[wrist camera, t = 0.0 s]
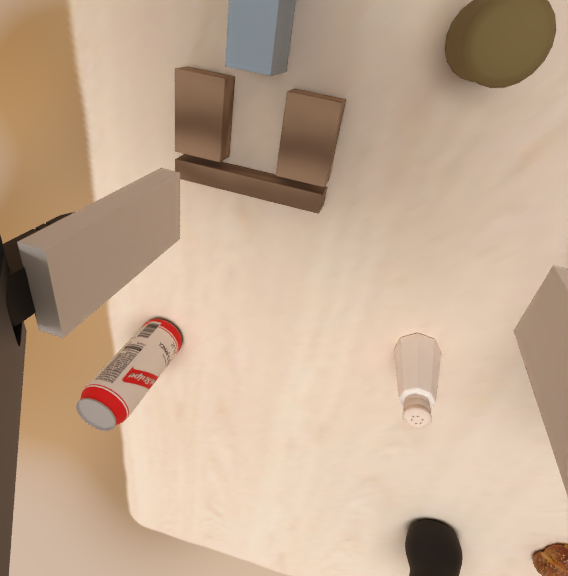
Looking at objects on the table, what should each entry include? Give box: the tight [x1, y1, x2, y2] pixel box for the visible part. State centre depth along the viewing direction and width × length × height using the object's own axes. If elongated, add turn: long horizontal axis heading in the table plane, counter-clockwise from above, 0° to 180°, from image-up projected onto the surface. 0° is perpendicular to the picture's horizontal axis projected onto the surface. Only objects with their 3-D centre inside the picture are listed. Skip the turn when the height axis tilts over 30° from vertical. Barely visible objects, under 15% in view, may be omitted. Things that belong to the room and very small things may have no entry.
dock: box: [175, 67, 346, 214], centre depth 41 cm, size 10×16×2 cm, turn 81°
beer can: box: [76, 319, 182, 431], centre depth 54 cm, size 6×6×16 cm
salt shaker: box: [394, 333, 441, 428], centre depth 45 cm, size 5×5×11 cm
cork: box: [445, 0, 556, 88], centre depth 28 cm, size 6×6×11 cm
